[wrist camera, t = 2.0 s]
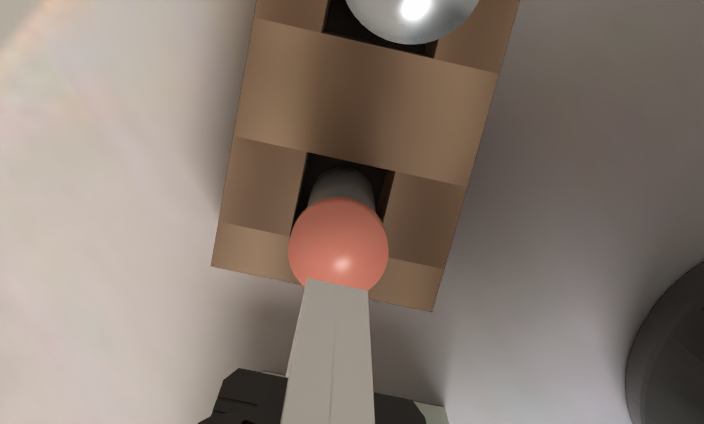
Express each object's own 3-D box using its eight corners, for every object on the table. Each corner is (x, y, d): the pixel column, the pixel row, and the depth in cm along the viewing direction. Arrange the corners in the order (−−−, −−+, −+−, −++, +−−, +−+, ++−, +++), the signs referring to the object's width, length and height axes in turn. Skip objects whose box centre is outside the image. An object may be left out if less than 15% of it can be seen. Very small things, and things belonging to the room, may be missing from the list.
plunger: (388, 169, 28) (399, 216, 22) (371, 241, 29) (375, 308, 23) (312, 152, 28) (298, 194, 22) (296, 226, 29) (279, 288, 23)
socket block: (527, -104, 28) (554, -123, 24) (423, 278, 33) (432, 312, 29) (298, -160, 28) (289, -189, 24) (227, 236, 33) (210, 266, 29)
